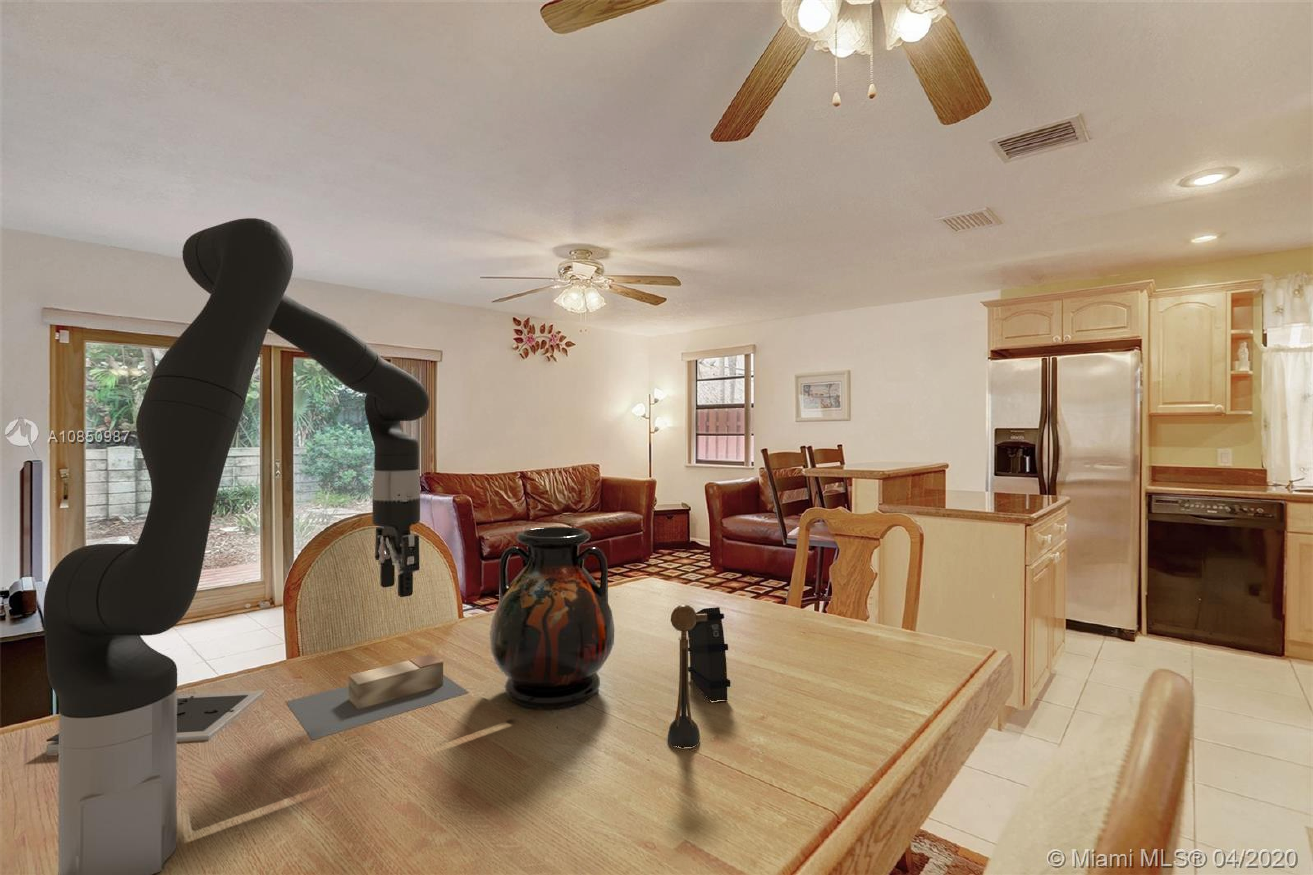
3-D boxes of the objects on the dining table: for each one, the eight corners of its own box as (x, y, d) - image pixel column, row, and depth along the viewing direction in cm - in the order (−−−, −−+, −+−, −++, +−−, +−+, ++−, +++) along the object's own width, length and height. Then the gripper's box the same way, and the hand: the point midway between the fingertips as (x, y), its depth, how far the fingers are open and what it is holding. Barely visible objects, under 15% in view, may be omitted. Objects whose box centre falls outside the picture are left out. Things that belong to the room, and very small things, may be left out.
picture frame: (46, 760, 84) (208, 750, 87) (46, 739, 84) (209, 730, 87) (128, 709, 100) (264, 702, 103) (128, 692, 100) (264, 686, 103)
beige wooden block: (358, 709, 97) (358, 683, 97) (348, 699, 101) (348, 674, 101) (443, 685, 106) (443, 661, 106) (431, 676, 110) (431, 653, 110)
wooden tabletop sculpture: (702, 731, 92) (702, 599, 92) (710, 746, 87) (710, 608, 87) (664, 734, 91) (664, 601, 91) (670, 750, 86) (670, 610, 86)
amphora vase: (471, 718, 96) (472, 542, 96) (509, 667, 117) (509, 522, 117) (607, 721, 95) (608, 543, 95) (619, 668, 116) (620, 523, 116)
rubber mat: (469, 697, 103) (469, 692, 103) (312, 745, 87) (312, 739, 87) (429, 669, 116) (429, 664, 116) (285, 706, 100) (285, 701, 100)
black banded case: (716, 702, 98) (702, 608, 104) (691, 706, 109) (680, 621, 116) (737, 699, 99) (722, 606, 105) (710, 703, 110) (698, 619, 117)
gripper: (360, 494, 106) (359, 587, 106) (388, 501, 96) (387, 603, 96) (403, 492, 111) (403, 580, 111) (435, 498, 101) (434, 595, 101)
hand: (396, 591), depth 103 cm, fingers open, 8 cm apart
